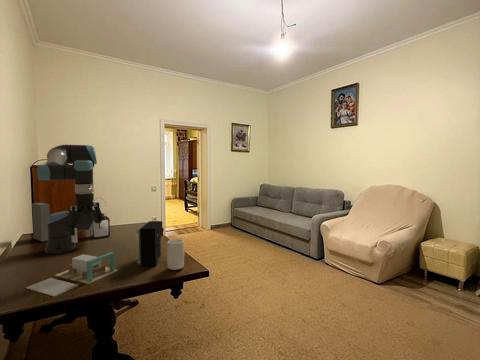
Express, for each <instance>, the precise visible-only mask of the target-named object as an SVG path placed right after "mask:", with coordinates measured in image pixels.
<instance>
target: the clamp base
mask: <svg viewBox="0 0 480 360" xmlns="http://www.w3.org/2000/svg"><path fill="white" fill-rule="evenodd" d="M92 270H93V280H92V281H88V280H87V272H82V275H81V274H76V269H72V263H70V264H68V270H64V271H62V272H59V273H56V274H54V277H59V278H62V279H65V280H69V281H75V282H79V283H82V284H86V285H90V284H91V283H94V282H96V281H99V280H101V279H103V278H105V277H107V276H109V275H112V274H113V273H116V272H118V271H119V270H118V269H117V268H115V270H114V271H111V270H110V267H108V266H106V265H102V264H101V266H99V267H96V268H94V269H92Z"/></svg>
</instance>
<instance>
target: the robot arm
mask: <svg viewBox="0 0 480 360" xmlns="http://www.w3.org/2000/svg"><path fill="white" fill-rule="evenodd" d="M46 159H47V160H46V162H45V163H43V164H37V168H36V175H37V179H38V180H39V181H68V180H69V181H72V180H74V193H75V195H74V199H75V205H69V207H68V210H65V211H64V210H63V211H58V212H54V213H50V215H49V216H48V222H47V224H48V240H47V241H46V242H47V243H46V245H45V249H44V253H45V254H47V255H57V254H58V255H59V254H64V253H69V252H71V251H74V250H75V248H76V243H78V232H85V231H88V232H89V231H90V230H93V229H94V236H99V229H100V223H101V222H102V221H103V220H104V219H103V216H102V213H103V212H102V211H101V207H100V202H97V201H94V200H95V196H94V168H95V165H97V164H98V160H97V156H96V149H95V147H94V146H93V145H89V144H87V145H86V144H60V145H57V146H54V147H52V148H50V149H49V150H48V151H47V153H46ZM93 202H94V203H93Z"/></svg>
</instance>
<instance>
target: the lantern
mask: <svg viewBox="0 0 480 360" xmlns="http://www.w3.org/2000/svg"><path fill="white" fill-rule="evenodd" d="M100 199H101V200H103V198H101V197H100ZM95 200H97V198H94V200H93V203H94V202H96V201H95ZM104 203H105V205H107V203H106V202H104ZM101 213H102V216H103V219H104V220H103V221H102V222H101V223H100V229H99V236H94V229H93V230H89V231H90V237H91V238H92V239H93V240H95V239H99V238H106V237H110V236H111V224H110V223H111V222H110V217H108V216H107V215H106V213H103V212H101Z"/></svg>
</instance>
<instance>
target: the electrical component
mask: <svg viewBox="0 0 480 360" xmlns="http://www.w3.org/2000/svg"><path fill="white" fill-rule="evenodd" d="M164 230H165V229H164V227H163V221H161V220H152V221H151V220H149V221H147V222H146V223H144V224H143V225H142V226H141V227H140V228H139V229H137V230H136V234H137V235H138V253H139V255H138V256H139V259H138V260H137V265H138V266H139V268H156V267H157V265H158V264H159V260H160V257H161V256H162V254H161V253H162V251H161V249H162V248H161V246H162V245H161V243H162V242H161V240H162V237H164Z"/></svg>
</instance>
